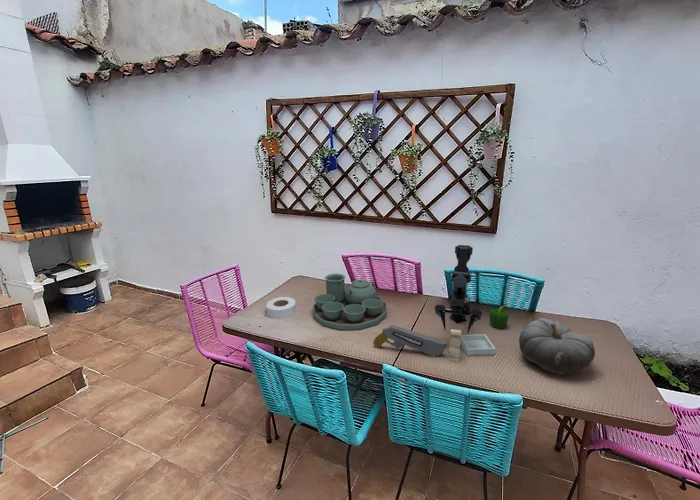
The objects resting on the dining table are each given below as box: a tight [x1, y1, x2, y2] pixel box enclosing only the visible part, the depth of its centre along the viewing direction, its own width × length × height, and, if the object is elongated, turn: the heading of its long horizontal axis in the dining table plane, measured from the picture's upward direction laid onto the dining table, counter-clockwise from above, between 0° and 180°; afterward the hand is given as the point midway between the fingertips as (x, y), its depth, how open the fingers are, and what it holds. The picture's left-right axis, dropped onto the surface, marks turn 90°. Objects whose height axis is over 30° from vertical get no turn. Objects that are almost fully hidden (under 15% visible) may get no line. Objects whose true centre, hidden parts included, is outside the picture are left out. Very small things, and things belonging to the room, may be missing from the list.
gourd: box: [518, 317, 596, 375], centre depth 134 cm, size 25×25×17 cm
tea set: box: [312, 273, 388, 331], centre depth 181 cm, size 40×40×16 cm
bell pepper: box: [488, 305, 509, 329], centre depth 163 cm, size 8×8×10 cm
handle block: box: [448, 328, 462, 362], centre depth 139 cm, size 4×4×12 cm
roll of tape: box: [266, 296, 297, 320], centre depth 185 cm, size 16×16×6 cm
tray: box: [460, 333, 497, 357], centre depth 147 cm, size 12×12×3 cm
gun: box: [372, 324, 448, 358], centre depth 146 cm, size 4×28×17 cm, turn 74°
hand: (456, 331), depth 141 cm, fingers open, 9 cm apart
